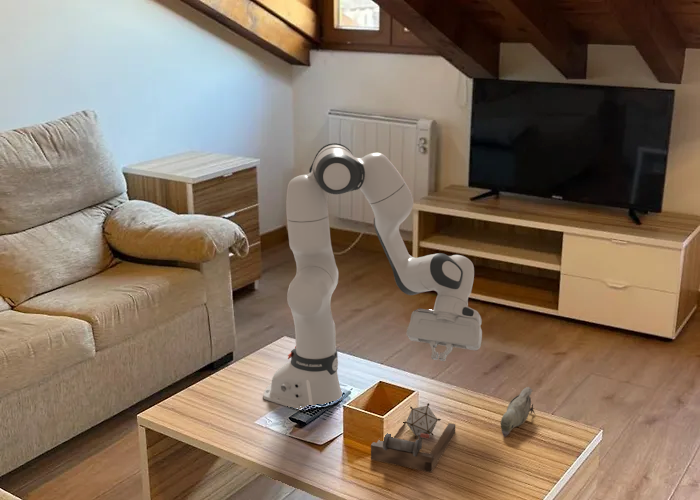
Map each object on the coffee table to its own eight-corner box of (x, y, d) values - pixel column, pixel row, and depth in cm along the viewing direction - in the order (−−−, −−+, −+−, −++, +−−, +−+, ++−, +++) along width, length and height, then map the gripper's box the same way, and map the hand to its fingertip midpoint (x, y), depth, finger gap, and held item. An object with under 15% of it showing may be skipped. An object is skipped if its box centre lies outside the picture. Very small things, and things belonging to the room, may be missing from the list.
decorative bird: (494, 435, 216) (495, 409, 214) (518, 409, 229) (519, 384, 227) (514, 440, 213) (515, 414, 211) (537, 414, 226) (538, 389, 224)
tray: (369, 462, 205) (368, 427, 202) (398, 422, 223) (398, 389, 220) (429, 475, 199) (430, 439, 196) (455, 432, 217) (456, 399, 214)
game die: (427, 450, 216) (437, 434, 208) (396, 437, 217) (405, 420, 209) (437, 421, 222) (447, 404, 214) (407, 408, 222) (416, 391, 214)
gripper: (410, 302, 231) (398, 349, 225) (483, 312, 223) (472, 361, 217) (416, 312, 236) (404, 357, 230) (487, 322, 228) (476, 369, 222)
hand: (438, 359), depth 224 cm, fingers closed
